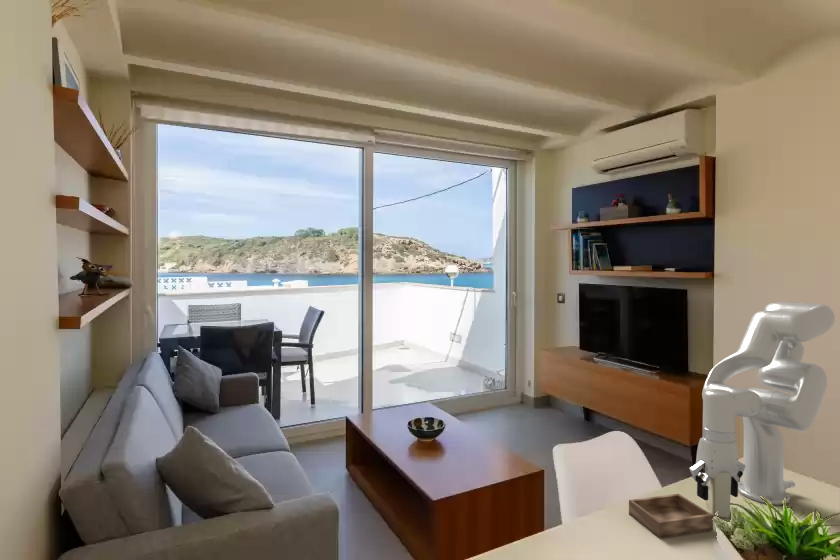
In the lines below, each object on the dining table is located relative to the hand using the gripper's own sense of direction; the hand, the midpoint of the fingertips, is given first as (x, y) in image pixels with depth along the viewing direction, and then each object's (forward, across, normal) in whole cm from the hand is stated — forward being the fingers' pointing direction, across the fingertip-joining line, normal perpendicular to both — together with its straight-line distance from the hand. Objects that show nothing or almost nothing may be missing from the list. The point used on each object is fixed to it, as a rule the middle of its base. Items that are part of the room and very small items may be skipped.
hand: (717, 496), depth 126 cm
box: (+5, +16, +1) cm, 17 cm away
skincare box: (+5, 0, 0) cm, 5 cm away
